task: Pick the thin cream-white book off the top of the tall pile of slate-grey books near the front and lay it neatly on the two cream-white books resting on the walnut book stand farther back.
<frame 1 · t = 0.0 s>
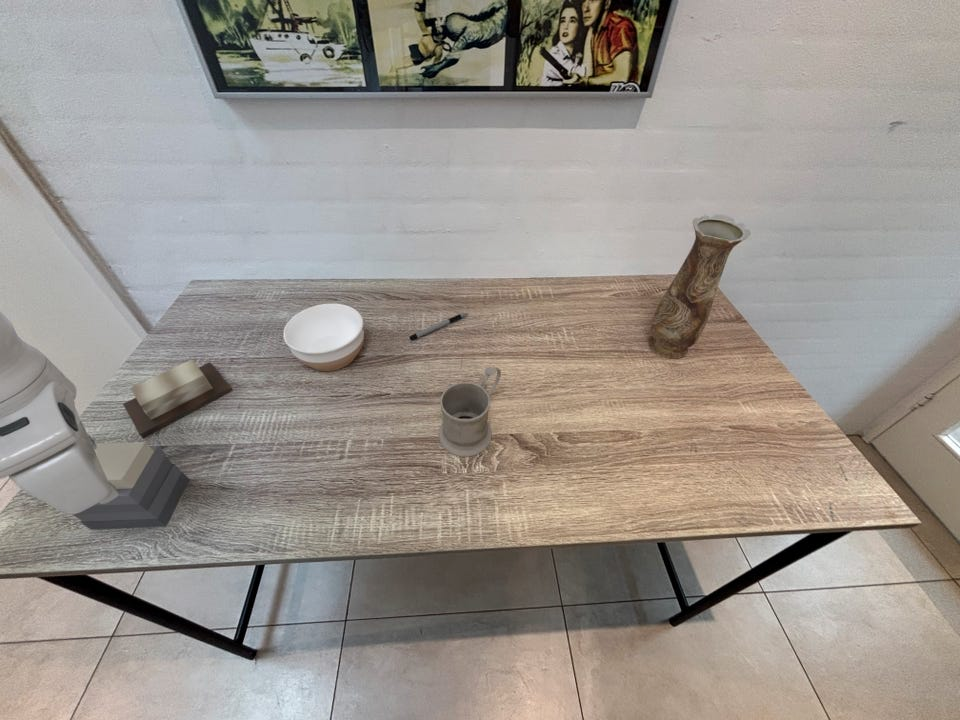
hand: (99, 471, 51), 17 cm above the table, tool pointing down, fingers open, 8 cm apart
grey books: (142, 503, 65), on the table
white book: (103, 470, 58), point 10 cm above the table, touching grey books
mug: (473, 426, 78), on the table
pen: (439, 328, 98), on the table
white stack: (180, 399, 80), on the table
vase: (666, 346, 95), on the table
bowl: (332, 354, 91), on the table
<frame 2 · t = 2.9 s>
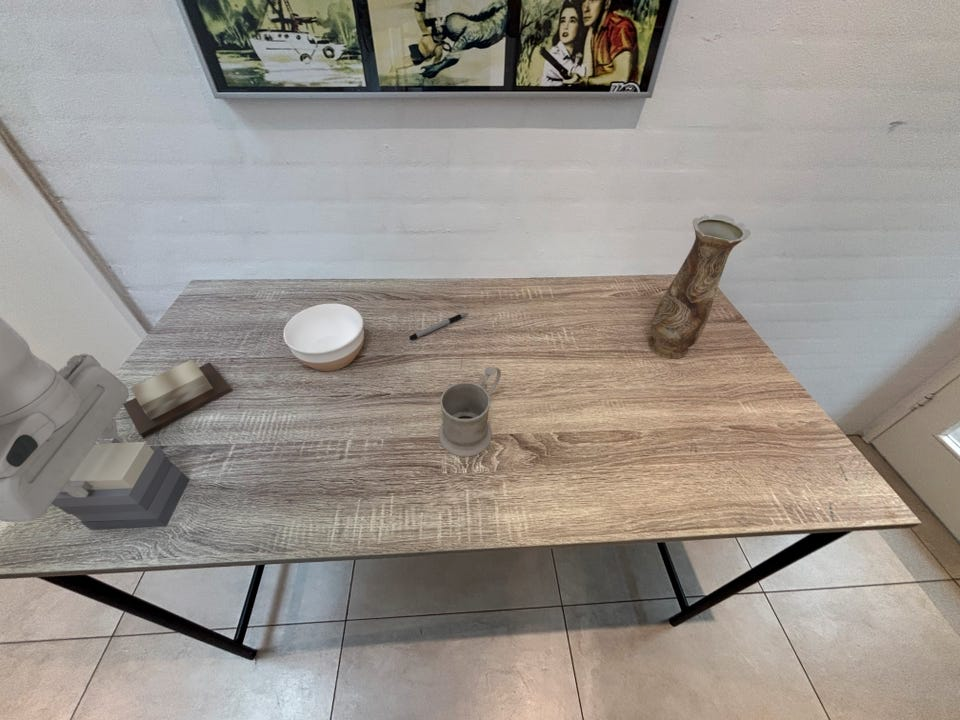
hand: (100, 468, 58), 11 cm above the table, tool pointing down, fingers closed on white book, 6 cm apart
white book: (103, 470, 58), point 10 cm above the table, touching grey books, gripper
everything else where it was.
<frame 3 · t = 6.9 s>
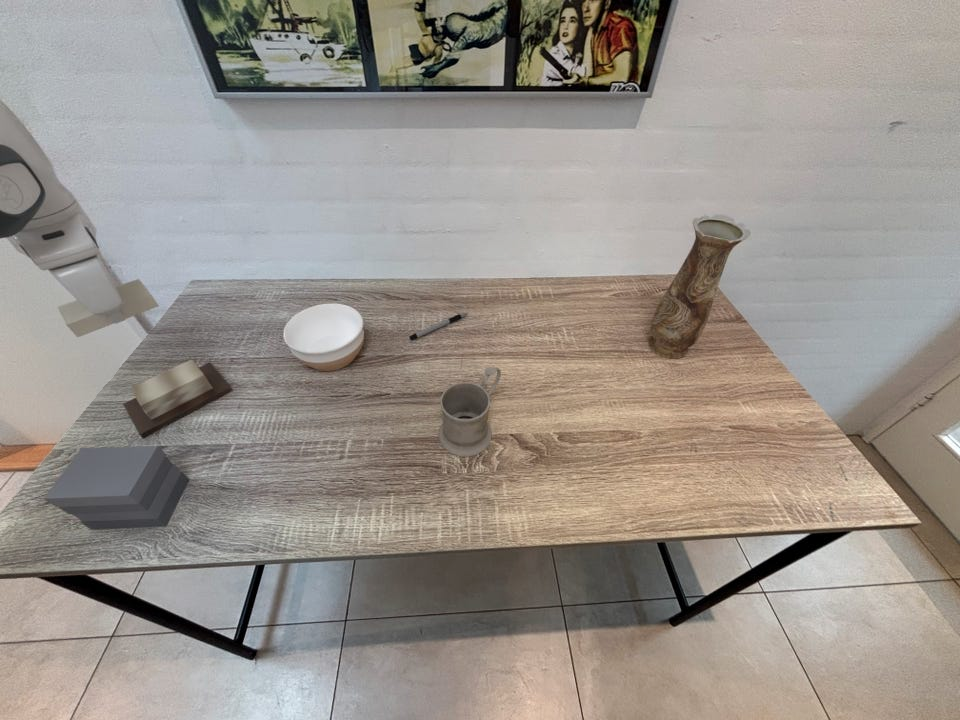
hand: (112, 309, 65), 22 cm above the table, tool pointing down, fingers closed on white book, 6 cm apart
white book: (114, 312, 65), point 21 cm above the table, touching gripper
everything else where it was.
when the fingers open (6 cm above the table, at t = 10.9 s): white book stays where it is, resting on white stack.
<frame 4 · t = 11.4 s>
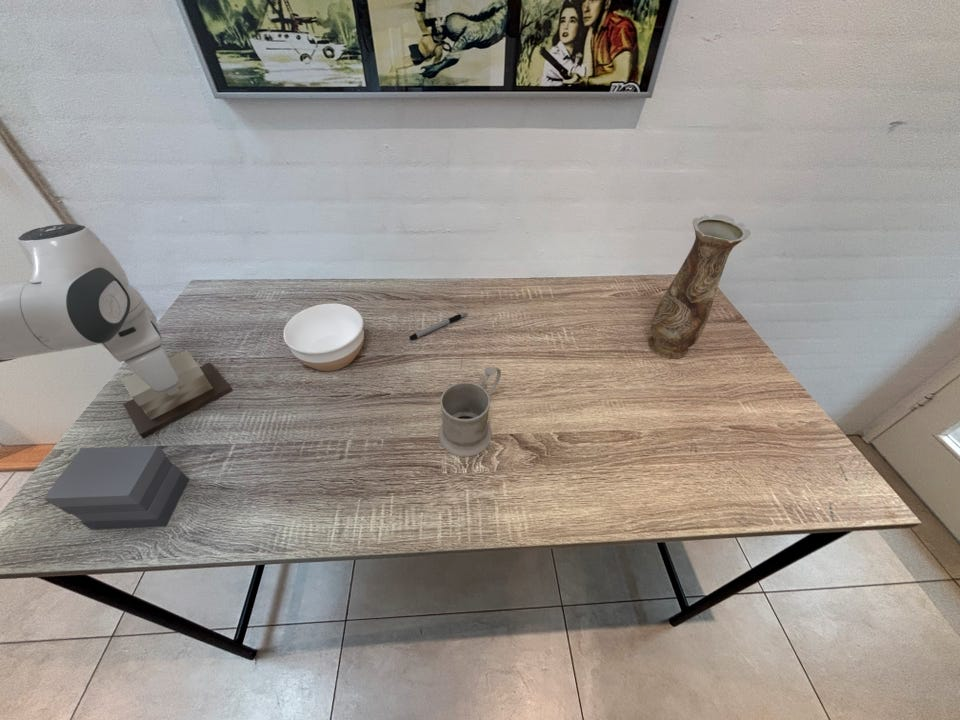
hand: (164, 378, 76), 6 cm above the table, tool pointing down, fingers open, 8 cm apart
white book: (167, 381, 77), point 5 cm above the table, touching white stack
everything else where it was.
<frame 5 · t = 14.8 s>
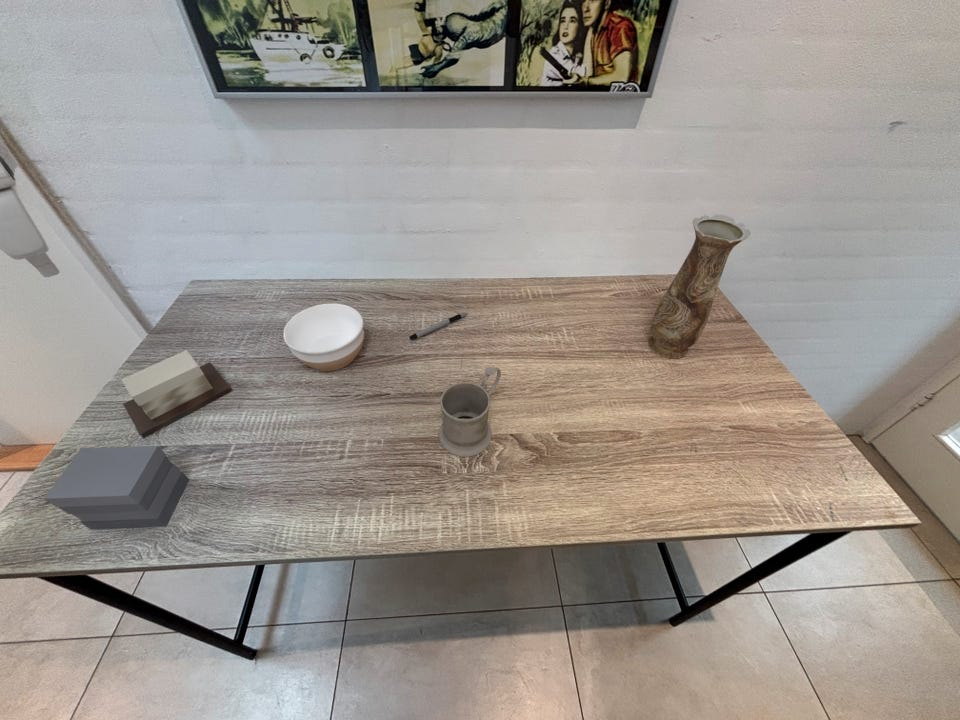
hand: (44, 260, 58), 31 cm above the table, tool pointing down, fingers open, 8 cm apart
nothing on the table moved.
at the end: white book 0.0 cm off-centre on the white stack, point 5.2 cm above the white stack's base; white book tilted 0°; the gripper is holding nothing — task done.
